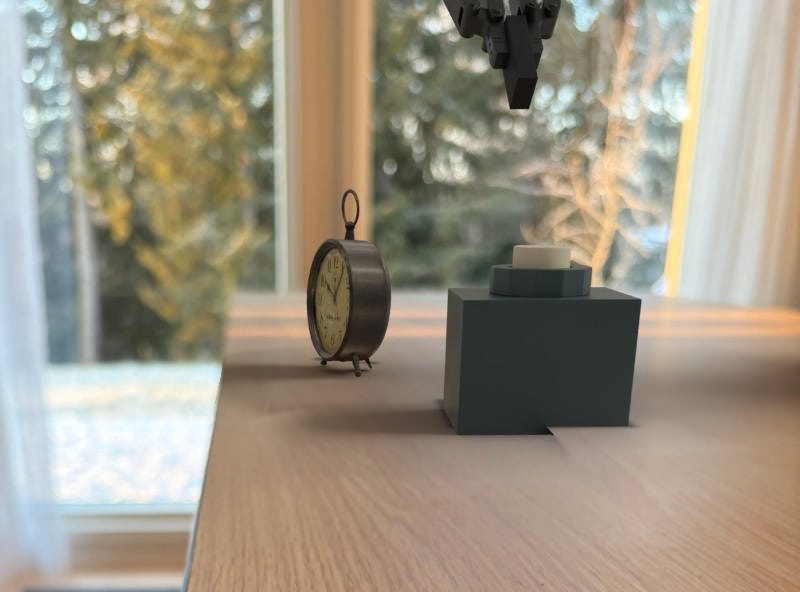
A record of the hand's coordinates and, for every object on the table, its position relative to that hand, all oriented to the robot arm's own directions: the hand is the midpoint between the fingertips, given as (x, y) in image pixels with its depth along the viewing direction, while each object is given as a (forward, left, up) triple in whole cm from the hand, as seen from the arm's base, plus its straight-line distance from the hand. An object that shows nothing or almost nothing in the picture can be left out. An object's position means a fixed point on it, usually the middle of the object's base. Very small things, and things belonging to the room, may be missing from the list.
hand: (523, 93), depth 78 cm
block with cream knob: (-1, +8, -23) cm, 24 cm away
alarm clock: (+12, -17, -23) cm, 31 cm away
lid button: (-1, +8, -12) cm, 15 cm away
